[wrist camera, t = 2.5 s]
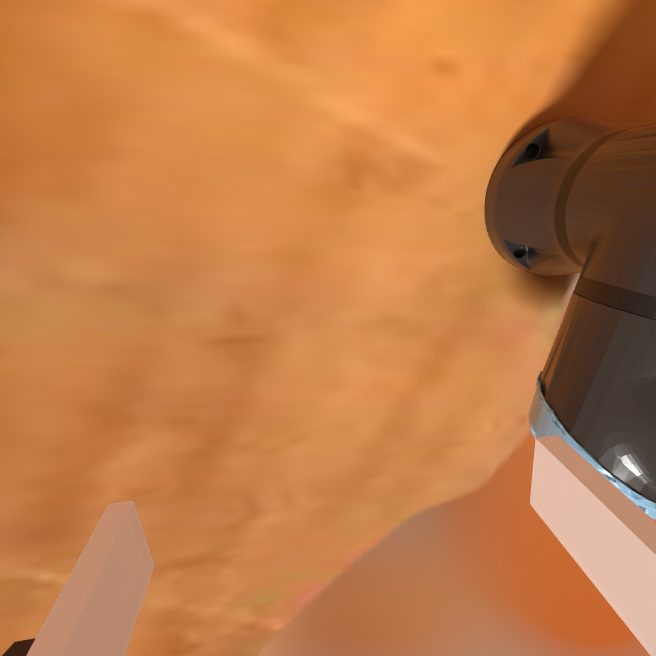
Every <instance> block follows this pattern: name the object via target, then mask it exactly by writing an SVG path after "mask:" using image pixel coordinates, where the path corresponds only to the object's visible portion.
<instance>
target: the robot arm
mask: <svg viewBox="0 0 656 656" xmlns="http://www.w3.org/2000/svg"><path fill="white" fill-rule="evenodd" d="M485 222H486V227H487V231H488V235H489V237H490V240H491V242H492V244H493V246H494V247H495V249H496V250H497V252H498V253H499V254H500V255H501V256H502V257H503V258H504V259H505V260H506V261H507V262H509V263H510V264H512V265H513V266H515V267H517V268H520V269H522V270H525V271H528V272H531V273H535V274H539V275H546V276H559V275H566V274H573V273H579V272H581V274H580V277H579V279H578V282H577V285H576V287H575V290H574V292H573V294H572V296H571V299H570V302H569V304H568V307H567V310H566V312H565V315H564V317H563V320H562V323H561V325H560V328H559V330H558V333H557V336H556V338H555V341H554V344H553V346H552V349H551V351H550V354H549V357H548V359H547V362H546V365H545V367H544V370H543V371H542V372H540V374H539V376H538V378H537V383H536V386H537V389H536V392H535V395H534V399H533V402H532V405H531V408H530V411H529V425H530V429H531V431H532V434H533V436H534V437H535V438H536V443H535V454H534V464H533V476H532V486H531V497H530V504H531V505H532V507H533V508H534V509H535V511H536V512H537V513H538V514H539V516H540V517H541V518H542V519H543V521H544V522H545V523H546V525H547V526H548V527H549V528H550V529H551V531H552V532H553V533H554V535H555V536H556V537H557V538H558V540H559V541H560V542H561V543H562V544H563V546H564V547H565V548H566V550H567V551H568V552H569V553H570V555H571V556H572V557H573V558H574V560H575V561H576V562H577V563H578V565H579V566H580V567H581V568H582V570H583V571H584V572H585V574H586V575H587V576H588V577H589V579H590V580H591V581H592V582H593V584H594V585H595V586H596V587H597V589H598V590H599V591H600V592H601V593H602V595H603V596H604V597H605V599H606V600H607V601H608V602H609V604H610V605H611V606H612V608H613V609H614V610H615V611H616V613H617V614H618V615H619V616H620V618H621V619H622V620H623V621H624V623H625V624H626V625H627V626H628V628H629V629H630V630H631V631H632V633H633V634H634V635H635V636H636V638H637V639H638V640H639V641H640V643H641V644H642V645H643V647H644V648H645V649H646V650H647V652H648V653H649V654H650V655H651V656H656V522H655V521H654V520H653V519H652V518H654V519H656V124H651V125H645V126H639V127H634V128H625V127H622V126H619V125H615V124H612V123H609V122H605V121H602V120H599V119H595V118H588V117H572V118H566V119H562V120H557V121H553V122H549V123H546V124H543V125H541V126H538V127H536V128H534V129H532V130H531V131H529V132H528V133H526V134H525V135H523V136H522V137H521V138H520V139H518V140H517V141H516V142H515V143H514V144H513V145H512V146H511V147H510V148H509V149H508V151H507V152H506V153H505V154H504V156H503V157H502V158H501V160H500V162H499V163H498V165H497V167H496V169H495V171H494V173H493V175H492V177H491V180H490V183H489V186H488V190H487V194H486V200H485ZM153 570H154V563H153V560H152V557H151V553H150V550H149V547H148V544H147V541H146V538H145V535H144V531H143V528H142V525H141V522H140V519H139V516H138V513H137V509H136V506H135V503H134V500H132V501H125V502H119V503H112V504H108V505H107V507H106V509H105V511H104V513H103V515H102V516H101V518H100V520H99V522H98V524H97V526H96V528H95V529H94V531H93V533H92V535H91V537H90V539H89V541H88V542H87V544H86V546H85V548H84V550H83V552H82V554H81V555H80V557H79V559H78V561H77V563H76V565H75V566H74V568H73V570H72V572H71V574H70V576H69V578H68V579H67V581H66V583H65V585H64V587H63V589H62V591H61V592H60V594H59V596H58V598H57V600H56V602H55V604H54V605H53V607H52V609H51V611H50V613H49V615H48V616H47V618H46V620H45V622H44V624H43V626H42V628H41V629H40V631H39V633H38V635H37V637H36V638H35V639H29V640H23V641H18V642H14V643H13V644H12V646H11V647H10V648H9V649H8V650H7V651H6V652H5V653H4V654H3V655H2V656H125V655H126V652H127V649H128V646H129V643H130V639H131V636H132V633H133V630H134V627H135V624H136V621H137V618H138V615H139V612H140V609H141V606H142V603H143V600H144V597H145V594H146V591H147V588H148V585H149V582H150V579H151V576H152V573H153Z"/></svg>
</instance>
